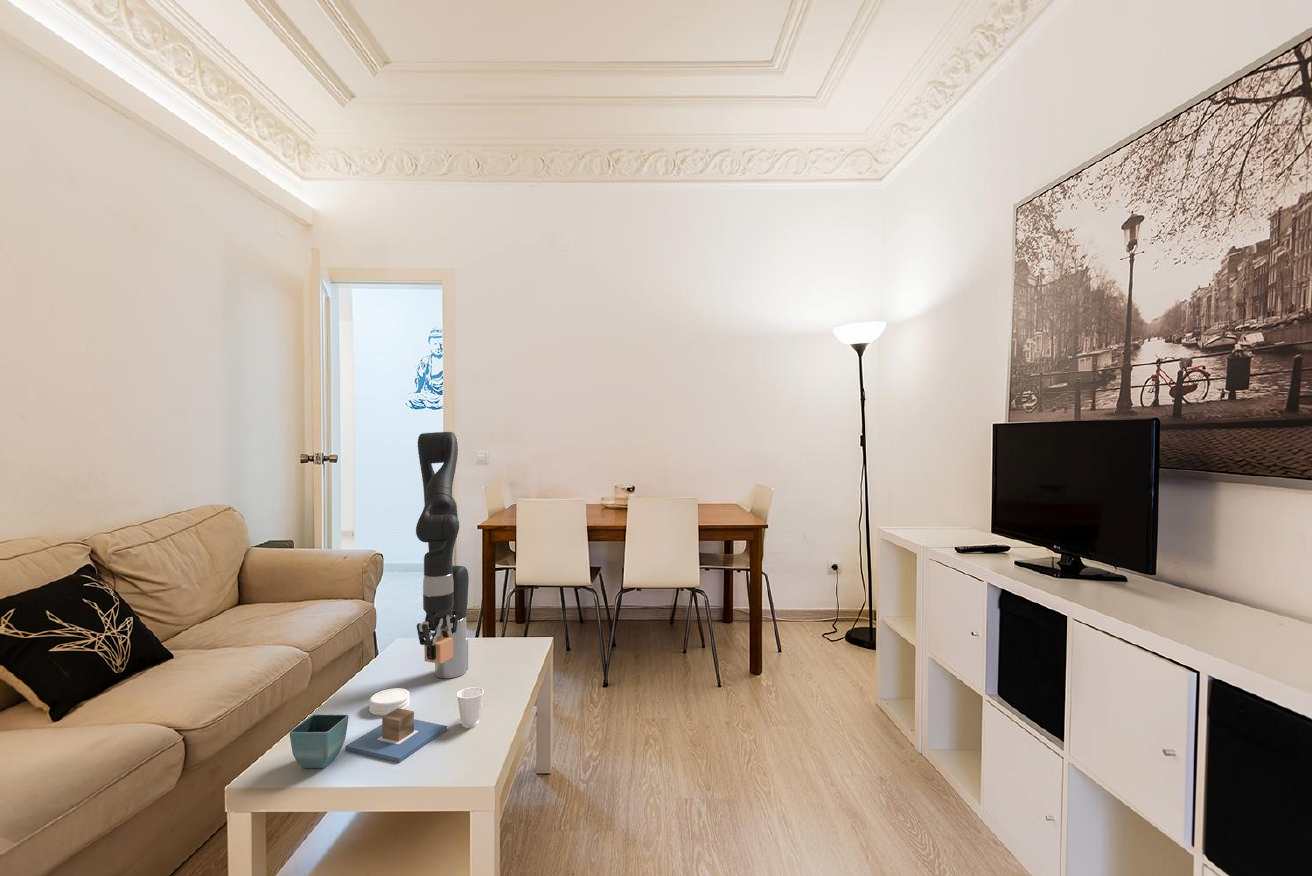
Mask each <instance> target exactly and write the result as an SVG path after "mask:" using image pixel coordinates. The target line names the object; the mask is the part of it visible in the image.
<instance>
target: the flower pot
mask: <svg viewBox="0 0 1312 876" xmlns="http://www.w3.org/2000/svg"><path fill="white" fill-rule="evenodd" d="M349 717H350V716H349V714H333V713H332V714H320V713H319V714H311V715H310V716H308V717H307V718H305V719H304V720H303V721H302V722H301V723H299V724H298V725H296V726H295V727H294V728H292V729H291V730H290V731H288V733H289V740H290V745H291V746H290V747H291V753H292V755H293V757H294V760H295V761H296V762H297V764H298V765H300V767H301V768H303V769H325V768H326V767H328V765H329V764H330V763H332V762H333V761H334V760H335V759H336V758H337V757H338V755H339V753H340V751H341V750H342V749H343V748H342V747H343V746H344V743H345V740H346V737H347V731H348V723H349Z"/></svg>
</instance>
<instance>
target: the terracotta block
mask: <svg viewBox="0 0 1312 876" xmlns="http://www.w3.org/2000/svg"><path fill="white" fill-rule="evenodd" d="M430 640H431V641H432V638H430ZM435 645H436V659H434V660H429V659H428V658H427V647H426V645H423V646H424V662H427V663H434V664H435V663H438V664H441V663H443V662H445V661H446V660H448V659H450V658H452V657H453V638H449V637H442V636H438V637H437V639H436V644H435Z"/></svg>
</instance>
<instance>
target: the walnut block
mask: <svg viewBox="0 0 1312 876" xmlns="http://www.w3.org/2000/svg"><path fill="white" fill-rule="evenodd" d="M381 719H382V720H381V725H382V738H384V739H389V740H394V741H398V742H399V741H401V740H402V739H404V738H405V737H407V736H408V735H410V734H411V733H413V732H414V719H415V711H414V710H410V709H409V710H408V709H405V710H404V709H399V708H397V709H396V710H394V711H392V712H390V713H389V714H387V715H385V716H381Z"/></svg>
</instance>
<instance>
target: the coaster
mask: <svg viewBox="0 0 1312 876" xmlns="http://www.w3.org/2000/svg"><path fill="white" fill-rule="evenodd" d="M410 704H411V702H410V691H409V690H407V689H405V688H399V687H397V688H396V687H395V688H388V689H384V690H381V691H378V692H375V693H374V694H373V695H371V697H370V698H369V702H368V705H369V709H368V711H369V714H372V715H374V716H380V717H383V716H385V715H387V714H389V713H390V712H392V711H394V710H396V709H397V708H399V709H404V710H407V708H408V707H410Z"/></svg>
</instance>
